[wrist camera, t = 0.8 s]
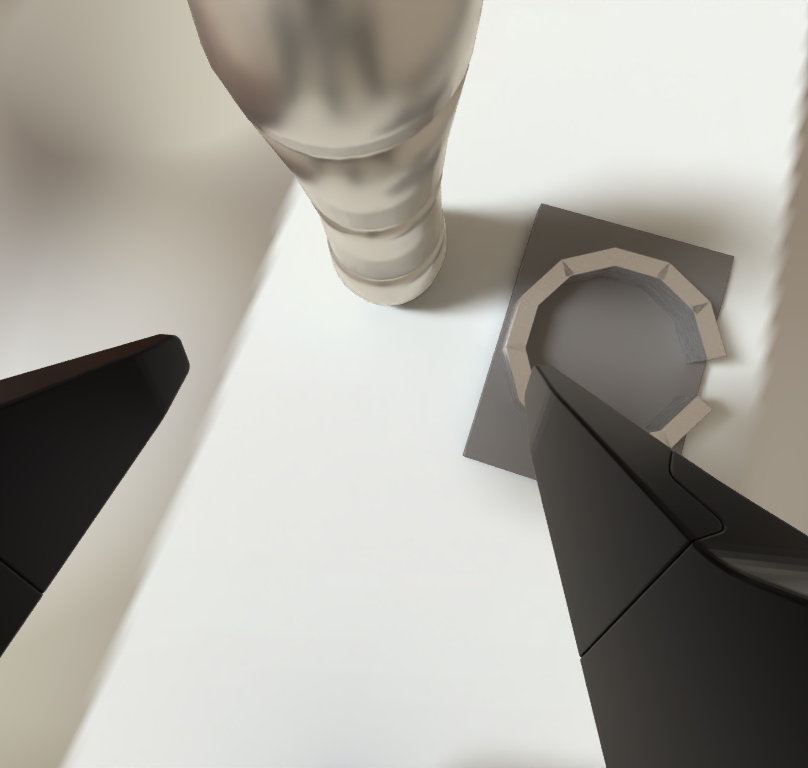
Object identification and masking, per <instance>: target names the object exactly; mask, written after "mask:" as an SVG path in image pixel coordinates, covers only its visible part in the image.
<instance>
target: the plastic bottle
mask: <svg viewBox="0 0 808 768" xmlns="http://www.w3.org/2000/svg"><path fill="white" fill-rule="evenodd" d="M187 1H188V4H189V7H190V11H191V14H192V17H193V20H194V23H195V26H196V29H197V32H198V36H199V39H200V42H201V45H202V47H203V50H204V52H205V54H206V56H207V59H208V61H209V63H210V65H211V68H212V69H213V71H214V72H215V73H216V75H217V76H218V77H219V79H220V80H221V82H222V83H223V85H224V86H225V88H226V89H227V90H228V92H229V93H230V95H231V96H232V98H233V99H234V101H235V102H236V103H237V105H238V106H239V107H240V109H241V110H242V112H243V113H244V114H245V115H246V117H247V118H248V120H249V121H251V122H252V124H253V125H254V126H255V128H256V129H257V130H258V131H259V133H260V134H261V135H262V136H263V138H264V139H265V140H266V141H267V142H268V143H269V145H270V146H271V147H272V149H273V150H274V151H275V152H276V153H277V155H278V156H279V157H280V158H281V160H282V161H283V162H284V163H285V164H286V166H287V167H288V168H289V169H290V171H291V172H292V173H293V174H294V175H295V177H296V179H297V180H298V182H299V183H300V185H301V186H302V188H303V190H304V191H305V193H306V194H307V196H308V197H309V199H310V200H311V202H312V204H313V205H314V207H315V209H316V210H317V212H318V213H319V216H320V219H321V221H322V224H323V227H324V229H325V232H326V235H327V240H328V246H329V251H330V255H331V258H332V262H333V265H334V268H335V270H336V272H337V274H338V276H339V278H340V279H341V281H342V282H343V283H344V285H345V286H346V287H348V288H349V289H350V290H351V291H352V292H353V293H355V294H356V295H358V296H359V297H361V298H363V299H364V300H366V301H368V302H371V303H374V304H377V305H384V306H393V305H400V304H403V303H407V302H409V301H411V300H413V299H415V298H417V297H418V296H419V295H421V294H422V293H423V292H424V291H425V290H426V289H427V288H428V287H429V286H430V285H431V284H432V282H433V280H434V279H435V277H436V276H437V274H438V272H439V270H440V269H441V267H442V264H443V261H444V259H445V256H446V249H447V232H446V223H445V218H444V214H443V210H442V202H441V178H442V172H443V166H444V160H445V154H446V147H447V141H448V137H449V133H450V130H451V126H452V123H453V119H454V116H455V112H456V109H457V105H458V102H459V98H460V95H461V91H462V88H463V84H464V81H465V77H466V74H467V70H468V67H469V62H470V59H471V56H472V54H473V49H474V44H475V39H476V34H477V30H478V25H479V21H480V16H481V11H482V5H483V0H187Z"/></svg>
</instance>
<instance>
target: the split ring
mask: <svg viewBox="0 0 808 768" xmlns="http://www.w3.org/2000/svg"><path fill="white" fill-rule="evenodd" d="M597 277H603V278H607V279H610V280H614V281H617V282H621V283H624V284H628V285H631V286H635V287H638V288H642V289H643V290H644V291H645V292H646V293H647V294H648V295H649V296H650V297H651V298H652V299H653V300H654V301H655V302H656V303H657V304H658V305H659V306H660V307H661V308H662V309H663V310H664V311H665V312H666V313H667V314H668V315H669V316H670V317H671V318H672V319H673V323H674V326H675V330H676V333H677V337H678V340H679V344H680V347H681V351H682V354H683V358H684V361H685V364H687V363H693V362H699V361H704V360H709V359H714V358H719V357H723V356H726V353H725V349H724V346H723V343H722V339H721V336H720V332H719V329H718V326H717V322H716V319H715V316H714V312H713V309H712V306H711V302H710V301H709V300H708V299H707V298H706V297H705V296H704V295H703V294H702V293H701V292H700V291H698V290H697V289H696V288H695V287H694V286H693V285H692V284H691V283H690V282H689V281H688V280H687V279H686V278H685V277H684V276H683V275H682V274H681V273H680V272H679V271H678V270H677V269H676V268H675V267H674V266H672V265H671V264H670V263H669V262H665V261H662V260H658V259H655V258H651V257H647V256H644V255H640V254H637V253H633V252H630V251H626V250H622V249H619V248H611V249H606V250H602V251H598V252H593V253H589V254H584V255H580V256H575V257H571V258H567V259H562V260H561V261H559V262H558V263H557V264H556V265H555V266H554V267H553V268H552V269H551V270H550V271H549V272H547V273H546V274H545V275H544V276H543V277H542V278H541V279H540V280H539V281H538V282H536V283H535V284H534V285H533V286H532V287H531V288H530V289H529V290H528V291H527V292H525V293H524V294H523V295H522V296H521V297H520V298H519V300H518V301H517V302H516V303H515V304H514V307H513V310H512V313H511V316H510V320H509V323H508V326H507V329H506V333H505V336H504V339H503V343H502V346H501V349H500V356H501V360H502V364H503V368H504V372H505V376H506V380H507V384H508V389H509V393H510V397H511V401H512V402H513V403H514V404H515V406H516V407H517V408H518V409H519V410H520V411H521V412H522V413H523V414H524V415H525V416H526V411H525V401H524V396H525V390H526V387H527V384H528V380H529V377H530V374H531V369H530V365H529V360H528V356H527V352H526V348H525V347H526V344H527V341H528V337H529V334H530V331H531V327H532V324H533V321H534V317H535V314H536V311H537V308H538V305H539V304H540V303H541V302H543V301H544V300H545V299H546V298H547V297H548V296H549V295H550V294H551V293H552V292H553V291H555V290H556V289H557V288H558V287H559V286H561V285H565V284H570V283H574V282H579V281H583V280H588V279H592V278H597ZM711 410H712V409H711V408H710V407H709V406H708V405H707V404H706V403H705V402H704V401H703V400H702V399H701V398H700V397H699V396H683V397H676V398H675V399H673V400H672V401H671V402H670V403H669V404H668V405H667V406H666V407H665V408H664V409H663V410H662V411H661V412H659V413H658V414H657V415H656V416H655V417H654V418H653V419H652V420H651V421H650V422H649V423H648V424H647V425H645V426H644V427H643V429H644V430H645V431H647V432H648V433H650V434H651V435H653V436H654V437H656V438H657V439H658V440H660V441H661V442H663V443H664V444H666V445H667V446H669V447H670V448H671V447H673V446H674V445H675V444H676V443H677V442H678V441H679V440H680V439H681V438H682V437H683V436H684V435H685V434H687V433H688V432H689V431H690V430H691V429H692V428H693V427H694V426H695V425H696V424H697V423H698V422H699V421H700V420H702V419H703V418H704V417H705V416H706V415H707V414H708V413H709V412H710V411H711Z"/></svg>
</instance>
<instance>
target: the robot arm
mask: <svg viewBox="0 0 808 768" xmlns="http://www.w3.org/2000/svg"><path fill="white" fill-rule="evenodd" d="M189 367H190V366H189V361H188V358H187V355H186V353H185V350H184V347H183V345H182V342H181V340H180V339H179V338H178V337H177V336H175V335H165V334H158V335H155V336H151V337H148V338H144V339H141V340H137V341H134V342H130V343H127V344H124V345H121V346H117V347H113V348H110V349H106V350H103V351H99V352H96V353H92V354H89V355H85V356H82V357H79V358H75V359H72V360H68V361H65V362H61V363H58V364H54V365H51V366H47V367H44V368H41V369H37V370H34V371H30V372H27V373H23V374H20V375H17V376H13V377H10V378H6V379H2V380H0V657H1V656H2V654H3V653H4V652H5V650H6V649H7V647H8V646H9V644H10V642H11V641H12V640H13V638H14V637H15V636H16V634H17V632H18V631H19V630H20V628H21V627H22V625H23V624H24V622H25V621H26V619H27V618H28V617H29V615H30V614H31V612H32V611H33V609H34V608H35V606H36V605H37V603H38V602H39V600H40V599H41V597H42V596H43V594H42V593H44V592H45V591H46V590H47V588H48V587H49V585H50V584H51V582H52V581H53V579H54V578H55V576H56V575H57V573H58V572H59V571H60V569H61V568H62V566H63V565H64V563H65V561H66V560H67V559H68V557H69V556H70V555H71V553H72V552H73V550H74V548H75V547H76V546H77V544H78V543H79V541H80V540H81V538H82V537H83V536H84V534H85V533H86V531H87V529H88V528H89V527H90V525H91V524H92V522H93V521H94V519H95V518H96V517H97V515H98V514H99V512H100V511H101V509H102V508H103V506H104V505H105V503H106V502H107V500H108V499H109V498H110V496H111V494H112V493H113V492H114V490H115V489H116V487H117V486H118V484H119V483H120V482H121V480H122V478H123V477H124V476H125V474H126V473H127V471H128V470H129V468H130V467H131V465H132V464H133V462H134V461H135V460H136V458H137V457H138V455H139V454H140V452H141V451H142V449H143V448H144V446H145V445H146V443H147V442H148V441H149V439H150V438H151V436H152V435H153V433H154V432H155V430H156V429H157V428H158V426H159V425H160V423H161V421H162V420H163V418H164V417H165V415H166V413H167V411H168V410H169V407H170V406H171V404H172V402H173V400H174V398H175V396H176V395H177V393H178V391H179V389H180V387H181V385H182V383H183V382H184V380H185V378H186V376H187V374H188V372H189ZM524 401H525V411H526V420H527V429H528V439H529V447H530V453H531V458H532V463H533V467H534V471H535V475H536V479H537V483H538V487H539V491H540V495H541V500H542V504H543V508H544V512H545V516H546V520H547V524H548V528H549V532H550V537H551V541H552V545H553V549H554V553H555V557H556V561H557V565H558V570H559V574H560V578H561V582H562V586H563V590H564V594H565V598H566V602H567V607H568V611H569V615H570V619H571V623H572V627H573V631H574V635H575V640H576V644H577V648H578V652H579V656H580V657H581V659H580V661H581V665H582V669H583V673H584V678H585V682H586V686H587V690H588V694H589V698H590V702H591V706H592V711H593V715H594V719H595V723H596V727H597V731H598V735H599V739H600V744H601V748H602V752H603V756H604V760H605V764H606V768H808V536H807V535H805V534H804V533H802V532H801V531H799V530H797V529H796V528H794V527H792V526H791V525H789V524H788V523H786V522H784V521H783V520H781V519H779V518H778V517H776V516H775V515H773V514H771V513H770V512H768V511H766V510H765V509H763V508H762V507H760V506H758V505H757V504H755V503H754V502H752V501H750V500H749V499H747V498H746V497H744V496H742V495H741V494H739V493H738V492H736V491H734V490H733V489H731V488H730V487H728V486H726V485H725V484H723V483H722V482H720V481H719V480H717V479H716V478H714V477H713V476H711V475H710V474H708V473H707V472H705V471H704V470H702V469H701V468H699V467H698V466H696V465H695V464H693V463H692V462H690V461H689V460H687V459H686V458H684V457H683V456H682V455H680V454H679V453H677V452H676V451H671V448H670V447H669V446H667V445H666V444H664V443H663V442H661V441H660V440H658V439H657V438H656V437H654V436H653V435H651V434H650V433H648V432H647V431H645V430H644V429H643V428H641V427H640V426H638V425H637V424H635V423H634V422H632V421H631V420H630V419H628V418H627V417H625V416H624V415H622V414H621V413H619V412H618V411H617V410H615V409H614V408H612V407H611V406H609V405H608V404H606V403H605V402H604V401H602V400H601V399H599V398H598V397H596V396H595V395H593V394H592V393H591V392H589V391H588V390H586V389H585V388H583V387H582V386H581V385H579V384H578V383H576V382H575V381H573V380H572V379H570V378H569V377H568V376H566V375H565V374H563V373H562V372H560V371H559V370H557V369H556V368H555V367H553V366H550V365H539V364H538V365H535V366H534V367H533V368H532V371H531V374H530V377H529V380H528V384H527V387H526V390H525V396H524Z"/></svg>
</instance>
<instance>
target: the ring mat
mask: <svg viewBox="0 0 808 768" xmlns="http://www.w3.org/2000/svg"><path fill="white" fill-rule="evenodd" d="M611 248H619V249H622V250H626V251H630V252H633V253H637V254H640V255H644V256H647V257H651V258H655V259H658V260H662V261H665V262H669V263H670V264H671V265H672V266H674V267H675V268H676V269H677V270H678V271H679V272H680V273H681V274H682V275H683V276H684V277H685V278H686V279H687V280H688V281H689V282H690V283H691V284H692V285H693V286H694V287H695V288H696V289H697V290H698V291H700V292H701V293H702V294H703V295H704V296H705V297H706V298H707V299H708V300H709V301H710V302H711V306H712V309H713V312H714V316H715V319H716V322H717V319H718V315H719V311H720V308H721V304H722V300H723V296H724V293H725V289H726V285H727V282H728V278H729V274H730V270H731V267H732V263H733V259H734V256H731V255H727V254H723V253H720V252H716V251H712V250H709V249H705V248H702V247H698V246H694V245H691V244H687V243H683V242H680V241H676V240H673V239H669V238H665V237H662V236H658V235H654V234H651V233H647V232H643V231H640V230H636V229H633V228H629V227H625V226H622V225H618V224H614V223H611V222H607V221H604V220H600V219H596V218H593V217H589V216H585V215H582V214H578V213H574V212H571V211H567V210H564V209H560V208H556V207H553V206H549V205H545V204H541V205H540V207H539V209H538V212H537V215H536V218H535V221H534V225H533V228H532V231H531V234H530V238H529V241H528V244H527V247H526V251H525V254H524V257H523V261H522V264H521V267H520V270H519V274H518V277H517V280H516V283H515V287H514V290H513V293H512V296H511V300H510V303H509V306H508V309H507V313H506V316H505V319H504V322H503V326H502V329H501V332H500V335H499V339H498V342H497V345H496V348H495V352H494V355H493V358H492V361H491V365H490V368H489V371H488V374H487V378H486V381H485V384H484V388H483V391H482V394H481V397H480V401H479V404H478V407H477V410H476V414H475V417H474V420H473V423H472V427H471V430H470V433H469V436H468V440H467V443H466V446H465V449H464V453H463V456H464V457H467V458H470V459H474V460H477V461H480V462H483V463H486V464H489V465H492V466H495V467H498V468H501V469H504V470H507V471H510V472H513V473H516V474H519V475H522V476H525V477H529V478H532V479H535V480H537V479H536V475H535V471H534V467H533V463H532V458H531V453H530V447H529V439H528V429H527V420H526V416H525V415H524V414H523V413H522V412H521V411H520V410H519V409H518V408H517V407H516V406H515V404H514V403H513V402H512V401H511V397H510V393H509V389H508V384H507V380H506V376H505V372H504V368H503V364H502V360H501V356H500V349H501V346H502V343H503V339H504V336H505V333H506V329H507V326H508V323H509V320H510V316H511V313H512V310H513V307H514V304H515V303H516V302H517V301H518V300H519V298H520V297H521V296H522V295H523V294H524V293H525V292H527V291H528V290H529V289H530V288H531V287H532V286H533V285H534V284H535V283H536V282H538V281H539V280H540V279H541V278H542V277H543V276H544V275H545V274H546V273H547V272H549V271H550V270H551V269H552V268H553V267H554V266H555V265H556V264H557V263H558V262H559V261H561V260H562V259H567V258H571V257H575V256H580V255H584V254H589V253H593V252H598V251H602V250H606V249H611ZM525 348H526V352H527V356H528V360H529V365H530V369H531V371H532V368H533V367H534V366H535V365H538V364H539V365H550V366H553V367H555V368H556V369H557V370H559V371H560V372H562V373H563V374H565V375H566V376H568V377H569V378H570V379H572V380H573V381H575V382H576V383H578V384H579V385H581V386H582V387H583V388H585V389H586V390H588V391H589V392H591V393H592V394H593V395H595V396H596V397H598V398H599V399H601V400H602V401H604V402H605V403H606V404H608V405H609V406H611V407H612V408H614V409H615V410H617V411H618V412H619V413H621V414H622V415H624V416H625V417H627V418H628V419H630V420H631V421H632V422H634V423H635V424H637V425H638V426H640V427H641V428H643V427H644V426H645V425H647V424H648V423H649V422H650V421H651V420H652V419H653V418H654V417H655V416H656V415H657V414H658V413H659V412H661V411H662V410H663V409H664V408H665V407H666V406H667V405H668V404H669V403H670V402H671V401H672V400H673V399H675V398H676V397H683V396H697V393H698V389H699V386H700V382H701V378H702V374H703V371H704V367H705V363H706V360H704V361H699V362H693V363H687V364H685V361H684V358H683V354H682V351H681V347H680V344H679V340H678V337H677V333H676V330H675V326H674V323H673V319H672V318H671V317H670V316H669V315H668V314H667V313H666V312H665V311H664V310H663V309H662V308H661V307H660V306H659V305H658V304H657V303H656V302H655V301H654V300H653V299H652V298H651V297H650V296H649V295H648V294H647V293H646V292H645V291H644V290H643V289H642V288H638V287H635V286H631V285H628V284H624V283H621V282H617V281H614V280H610V279H607V278H603V277H597V278H592V279H588V280H583V281H579V282H574V283H570V284H565V285H561V286H559V287H558V288H557V289H556V290H555V291H553V292H552V293H551V294H550V295H549V296H548V297H547V298H546V299H545V300H544V301H543V302H541V303H540V304H539V305H538V308H537V311H536V314H535V317H534V321H533V324H532V327H531V331H530V334H529V337H528V341H527V344H526V347H525ZM685 438H686V434H685V435H684V436H683V437H682V438H681V439H680V440H679V441H678V442H677V443H676V444H675V445H674V446H673V447H671V451H676V452H677V453H679V454H680V455H681V452H682V449H683V445H684V441H685Z"/></svg>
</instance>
